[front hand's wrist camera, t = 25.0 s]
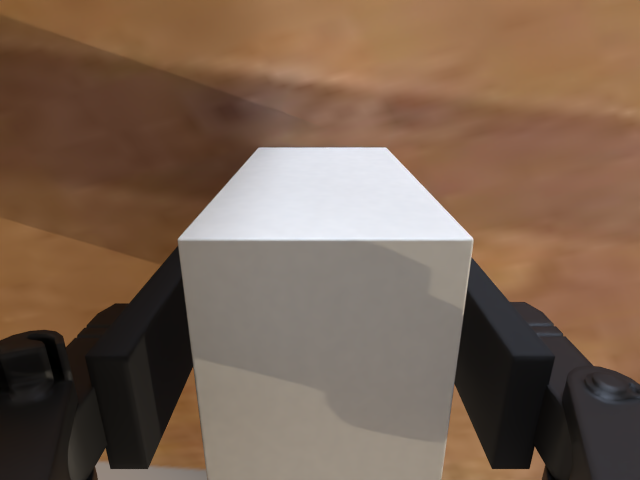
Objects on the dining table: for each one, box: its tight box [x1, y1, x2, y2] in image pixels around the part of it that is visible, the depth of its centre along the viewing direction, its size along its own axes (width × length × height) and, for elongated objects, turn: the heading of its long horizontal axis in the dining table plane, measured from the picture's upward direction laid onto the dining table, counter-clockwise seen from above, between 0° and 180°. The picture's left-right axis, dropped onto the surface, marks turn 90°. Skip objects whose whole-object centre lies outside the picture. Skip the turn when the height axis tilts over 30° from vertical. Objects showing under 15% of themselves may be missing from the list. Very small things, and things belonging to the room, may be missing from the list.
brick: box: [178, 148, 474, 480], centre depth 14 cm, size 7×5×10 cm
